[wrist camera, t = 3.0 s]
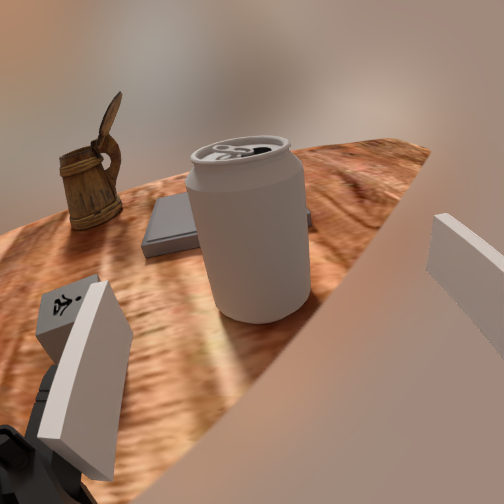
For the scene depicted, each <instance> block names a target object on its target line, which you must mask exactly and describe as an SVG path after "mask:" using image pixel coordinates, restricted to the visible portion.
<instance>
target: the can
mask: <svg viewBox="0 0 504 504" xmlns="http://www.w3.org/2000/svg"><path fill="white" fill-rule="evenodd" d="M290 146H291V144H290V141H289V140H287V139H285V138H283V137H276V136H250V137H242V138H235V139H230V140H226V141H221V142H217V143H214V144H211V145H208V146H205V147H203V148H201V149H199V150H197V151H195V152H194V153H193V154H192V155H191V156H190V160H191V162H192V163H194V166H193V168H192V169H191V171H190V173H189V174H188V176H187V178H186V179H185V184H186V189H187V193H188V197H189V202H190V206H191V210H192V214H193V218H194V223H195V227H196V231H197V235H198V239H199V243H200V247H201V251H202V255H203V259H204V263H205V267H206V271H207V274H208V278H209V282H210V286H211V290H212V293H213V297H214V301H215V304H216V307H217V308H218V309H219V310H220V311H221V312H222V313H223V314H224V315H226V316H228V317H230V318H232V319H234V320H236V321H242V322H246V323H252V324H265V323H271V322H274V321H278V320H281V319H283V318H284V317H286V316H288V315H290V314H291V313H293V312H295V311H296V310H298V309H299V308H300V307H301V306H302V305H303V304H304V303H305V302H306V300H307V299H308V296H309V293H310V290H311V280H310V258H309V240H308V223H307V208H306V195H305V182H304V170H303V164H302V162H301V160H299V159H298V158H297V157H296V156H295V155H294V154H293V153H292V152H290V151H289V147H290Z"/></svg>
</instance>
